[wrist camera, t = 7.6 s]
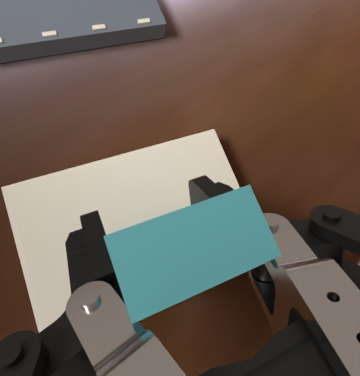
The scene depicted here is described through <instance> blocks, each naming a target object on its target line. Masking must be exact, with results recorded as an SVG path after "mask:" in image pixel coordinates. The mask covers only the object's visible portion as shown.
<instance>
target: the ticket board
mask: <svg viewBox="0 0 360 376" xmlns="http://www.w3.org/2000/svg"><path fill="white" fill-rule="evenodd" d="M166 26H167V23H166V21H165V18H164V16H163V14H162V12H161V9H160V7H159V5H158V2H157V0H0V63H5V62H12V61H18V60H25V59H31V58H37V57H44V56H50V55H57V54H63V53H69V52H76V51H82V50H88V49H95V48H101V47H108V46H114V45H120V44H127V43H133V42H140V41H146V40H152V39H159V38H164V36H165V31H166Z"/></svg>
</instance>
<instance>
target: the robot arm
mask: <svg viewBox="0 0 360 376" xmlns="http://www.w3.org/2000/svg"><path fill="white" fill-rule="evenodd" d="M188 186H189V194H190V203H191V205H193V204H196V203H199V202H201V201H204V200H207V199H210V198H213V197H216V196H218V195H221V194H224V193H227V192H230V191H233V190H234V189H233V188H232V187H230V186H229V185H226V184H223V183H221V182H217V183H214V182H213V181H212V180H211V179H210V178H208V177H207V176H206V175H203V176H200V177H197V178H194V179H191V180H189V182H188ZM263 215H264V217H265V219H266V221H267V224H268V226H269V228H270V230H271V233H272V235H273V237H274V239H275V241H276V244H277V246H278V248H279V250H280V253H281V255H282V256H280V257H277V258H275V259H273V260H271V261H269V262H266V263H264V264H262V265H260V266H258V267H256V268H253V269H251V270H249V279H250V282H251V284H252V286H253V288H254V291H255V293H256V295H257V297H258V299H259V302H260V304H261V306H262V308H263V310H264V312H265V315H266V317H267V319H268V321H269V324H270V328H271V334H272V338H271V339H270V340H269V341H268V342H267V343H266V344H265V345H264V347H263V348H262V349H261V350H260V351H259V352H258V353H257V354H256V355H255V356H254V357H253V358H252V359H250V360H246V361H242V362H238V363H233V364H229V365H224V366H220V367H216V368H212V369H210V370H208V371H206V372H205V373H203V374H201V375H199V376H360V266H359V265H357V264H355V263H353V262H351V261H348V260H346V259H344V257H345V254H346V250H348V251H351V252H353V253H355V254H357V255H360V215H359V214H356V213H354V212H351V211H348V210H345V209H342V208H339V207H336V206H330V205H322V206H318V207H315V208H314V209H312V211H311V213H310V218H309V219H305V220H298V221H288V220H287V219H286V218H284V217H283V216H281V215H278V214H274V213H263ZM80 221H81V225H82V229H79V230H76V231H73V232H70V233H69V236H68V238H67V240H66V242H65V246H66V253H67V261H68V271H69V279H70V288H71V296H70V298H69V299H68V301H67V304H66V310H65V311H64V313H63V314H62V315H61V316H60V317H59V318H58V319H57V320H56V321H54V322H53V323H52V324H50V325H49V326H48V327H46V328H45V329H44V330H42V331H41V332H39V333H38V334H36V333H35V332H32V331H27V330H26V331H19V332H16V333H13V334H11V335H9V336H7V337H6V338H4V339H3V340H1V341H0V376H186V375H185V373H184V372H183V371H182V370H181V368H180V367H179V366H178V364H177V363H176V362H175V361H174V359H173V358H172V357H171V355H170V354H169V353H168V352H167V350H166V349H165V348H164V346H163V345H162V344H161V343H160V341H159V340H158V339H157V337H156V336H155V335H154V334H153V333H152V332H151V331H150V330H147V331H146V330H144V328H143V327H142V326H141V325H140V323H139V322H135V323H133V324H132V323H131V320H130V317H129V314H128V311H127V308H126V305H125V301H124V298H123V295H122V292H121V289H120V286H119V283H118V280H117V277H116V274H115V271H114V268H113V265H112V261H111V258H110V255H109V252H108V249H107V246H106V243H105V240H104V237H103V236H105V235H106V233H105V230H104V227H103V224H102V221H101V218H100V215H99V212H98V210H96V211H93V212H90V213H87V214H84V215H81V216H80Z"/></svg>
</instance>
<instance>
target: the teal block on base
mask: <svg viewBox="0 0 360 376" xmlns="http://www.w3.org/2000/svg"><path fill="white" fill-rule="evenodd" d="M203 175H206V176H207V177H208V178H210V179H211V180H212V181H213V182H214V183H217V182H221V183H223V184H226V185H229V186H230V187H232V188H233V189H234V190H233V191H230V192H227V193H224V194H221V195H218V196H216V197H213V198H210V199H207V200H204V201H201V202H199V203H196V204H193V205H191V203H190V194H189V186H188V182H189V180H191V179H194V178H197V177H200V176H203ZM1 189H2V193H3V197H4V200H5V204H6V208H7V212H8V216H9V220H10V224H11V227H12V231H13V235H14V239H15V243H16V247H17V251H18V254H19V258H20V262H21V266H22V270H23V274H24V277H25V281H26V285H27V289H28V293H29V297H30V301H31V304H32V308H33V312H34V316H35V320H36V324H37V328H38V331H39V332H41V331H42V330H44V329H45V328H46V327H48V326H49V325H50V324H52V323H53V322H54V321H56V320H57V319H58V318H59V317H60V316H61V315H62V314H63V313H64V311H65V310H66V304H67V301H68V299H69V298H70V296H71V288H70V279H69V271H68V261H67V253H66V246H65V242H66V240H67V238H68V236H69V233H70V232H73V231H76V230H79V229H82V225H81V221H80V216H81V215H84V214H87V213H90V212H93V211H96V210H98V212H99V215H100V218H101V221H102V224H103V227H104V230H105V233H106V235H105V236H103V237H104V240H105V243H106V246H107V249H108V252H109V255H110V258H111V261H112V265H113V268H114V271H115V274H116V277H117V280H118V283H119V286H120V289H121V292H122V295H123V298H124V301H125V305H126V308H127V311H128V314H129V317H130V320H131V323H132V324H133V323H135V322H138V321H140V320H142V319H144V318H146V317H149V316H151V315H153V314H155V313H157V312H159V311H162V310H164V309H166V308H168V307H170V306H173V305H175V304H177V303H179V302H181V301H183V300H186V299H188V298H190V297H192V296H194V295H197V294H199V293H201V292H203V291H205V290H208V289H210V288H212V287H214V286H216V285H218V284H221V283H223V282H225V281H227V280H229V279H232V278H234V277H236V276H238V275H240V274H242V273H245V272H247V271H249V270H251V269H253V268H256V267H258V266H260V265H262V264H264V263H266V262H269V261H271V260H273V259H275V258H277V257H280V256H282V255H281V253H280V250H279V248H278V246H277V244H276V241H275V239H274V237H273V235H272V233H271V230H270V228H269V226H268V224H267V221H266V219H265V217H264V215H263V213H262V210H261V208H260V206H259V204H258V201H257V199H256V197H255V195H254V193H253V190H252V188H251V186H250V185H247V186H244V187H241V188H240V187H239V184H238V182H237V180H236V178H235V175H234V173H233V171H232V169H231V166H230V164H229V162H228V159H227V157H226V155H225V153H224V150H223V148H222V146H221V144H220V141H219V139H218V137H217V134H216V132H215V130H214V129H212V130H209V131H205V132H201V133H198V134H194V135H191V136H187V137H183V138H180V139H176V140H172V141H169V142H165V143H161V144H158V145H154V146H150V147H147V148H143V149H139V150H136V151H132V152H128V153H125V154H121V155H117V156H114V157H110V158H106V159H103V160H99V161H95V162H92V163H88V164H84V165H81V166H77V167H73V168H70V169H66V170H62V171H59V172H55V173H51V174H48V175H44V176H40V177H37V178H33V179H29V180H26V181H22V182H18V183H15V184H11V185H7V186H4V187H1Z"/></svg>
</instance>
